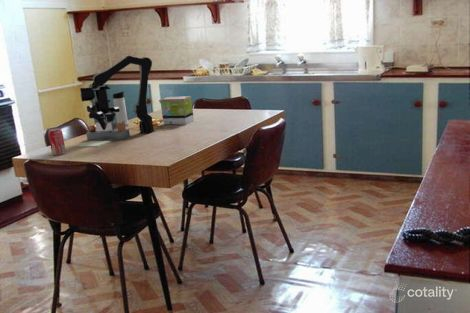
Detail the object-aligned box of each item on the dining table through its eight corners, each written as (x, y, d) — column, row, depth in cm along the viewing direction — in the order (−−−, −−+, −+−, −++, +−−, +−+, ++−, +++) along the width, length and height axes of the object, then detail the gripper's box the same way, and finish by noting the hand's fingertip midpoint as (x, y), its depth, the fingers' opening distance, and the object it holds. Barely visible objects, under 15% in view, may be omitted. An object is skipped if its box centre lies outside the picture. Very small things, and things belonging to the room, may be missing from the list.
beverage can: (54, 153, 248) (49, 128, 245) (67, 152, 249) (62, 127, 246) (50, 156, 242) (46, 131, 239) (64, 155, 243) (59, 129, 240)
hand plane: (130, 136, 271) (127, 121, 269) (122, 139, 264) (119, 124, 262) (95, 137, 279) (93, 122, 277) (87, 140, 273) (84, 125, 271)
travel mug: (126, 126, 302) (121, 92, 297) (115, 127, 303) (110, 93, 298) (130, 124, 308) (125, 90, 303) (120, 125, 309) (115, 91, 304)
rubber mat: (110, 142, 262) (110, 140, 262) (98, 146, 253) (98, 145, 253) (91, 142, 267) (91, 141, 267) (78, 146, 258) (78, 145, 258)
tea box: (163, 125, 296) (159, 99, 292) (171, 121, 305) (168, 96, 301) (186, 124, 290) (183, 98, 286) (194, 120, 299) (191, 95, 295)
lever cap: (118, 128, 271) (116, 119, 270) (112, 130, 267) (110, 121, 265) (102, 128, 275) (100, 120, 274) (96, 130, 270) (95, 122, 269)
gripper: (100, 96, 278) (105, 125, 282) (77, 102, 262) (83, 132, 266) (117, 95, 274) (122, 124, 278) (95, 101, 257) (100, 132, 261)
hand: (107, 128), depth 271 cm, fingers closed on lever cap, 5 cm apart
